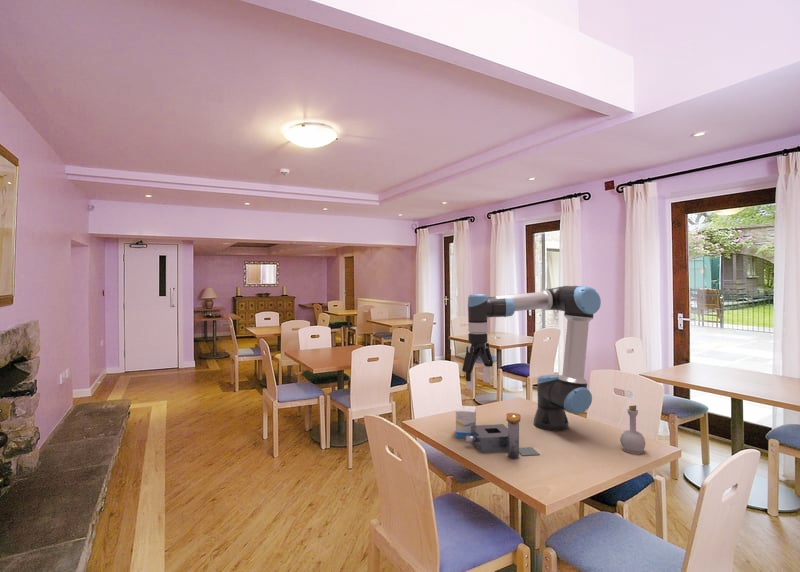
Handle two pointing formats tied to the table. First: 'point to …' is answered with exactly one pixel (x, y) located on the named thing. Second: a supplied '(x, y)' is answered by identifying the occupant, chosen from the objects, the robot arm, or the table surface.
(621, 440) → the potion bottle
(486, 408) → the table surface
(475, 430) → the block
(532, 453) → the mat
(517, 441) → the grey cylinder with cap
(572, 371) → the robot arm
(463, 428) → the ink box
